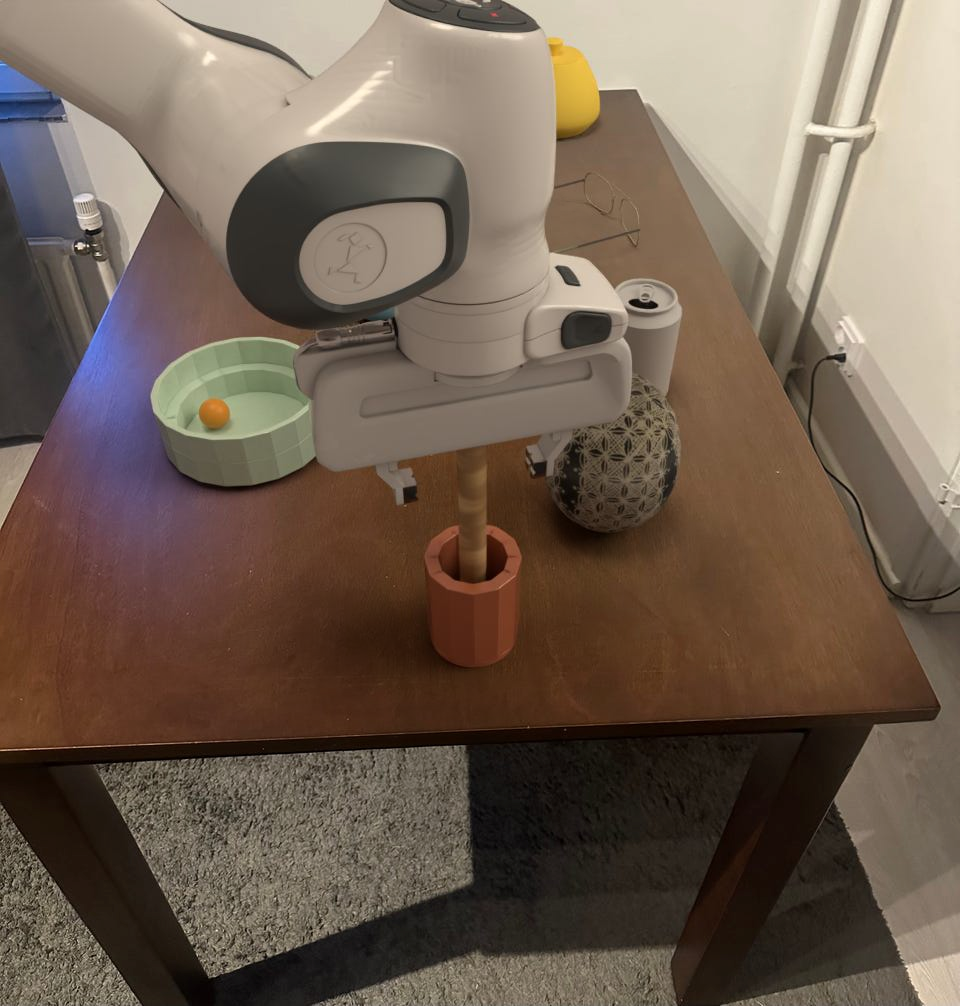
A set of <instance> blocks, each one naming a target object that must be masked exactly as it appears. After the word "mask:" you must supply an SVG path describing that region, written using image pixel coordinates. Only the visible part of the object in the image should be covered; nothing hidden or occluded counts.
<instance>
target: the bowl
mask: <svg viewBox="0 0 960 1006" xmlns="http://www.w3.org/2000/svg"><path fill="white" fill-rule="evenodd" d="M300 346H301V345H298V344H296V343H293V342H292V341H289V340H285V339H279V338H273V337H268V336H267V337H266V336H245V337H244V336H243V337H233V338H228V339H223V340H218V341H213V342H210V343H208V344H205V345H203V346H200V347H198V348H195V349H192V350H189V351H188V352H186V353H184V354H183V355H182V356H180V357H178V358H177V359H175V360H174V361H172V362H170V363H169V364H168V365H167V366H166V367H165V369H163V371H162V372H161V373H160V374H159V375H158V377H157V378H156V379H154V380H155V381H154V384H153V386H152V389H151V391H150V392H151V393H150V395H149V397H150V403H151V409H152V413H153V416H154V419H155V421H156V424H157V427H158V431H159V434H160V437H161V440H162V443H163V446H164V449H165V452H166V455H167V458H168V459H169V461H170V462H171V463H172V464H173V465H174V466H175V468H176V469H177V471H179V472H180V473H182V474H184V475H186V476H188V477H189V478H192V479H193V480H195V481H197V482H200V483H206V484H210V485H215V486H220V487H240V486H241V487H243V486H255V485H258V484H262V483H267V482H271V481H275V480H279V479H281V478H283V477H285V476H288V475H290V474H291V473H293V472H295V471H297V470H299V469H302V468H303V467H305V466H306V465H307V464H308V463H310V462H311V461H312V460H313V459H314V458H316V454H315V450H314V445H313V440H312V434H311V428H310V419H309V402H308V397H306V396H305V395H304V394H303V393H302V392H301V391H300V390H299V388H298V386H297V384H296V378H295V373H294V367H293V358H294V355H295V352H296V351H297V349H298V348H299V347H300ZM211 398H216V399H220V400H222V401H224V402H225V403H226V404H227V406H228V407H229V410H230V418H229V420H228V422H227V423H226V424H225V425H224V426H223V427H221V428H217V429H213V428H209V427H207V426H205V425H204V424H203V423H202V422H201V420H200V418H199V408H200V406H201V404H202V403H203V402H204V401H206V400H208V399H211Z"/></svg>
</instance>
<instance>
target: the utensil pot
mask: <svg viewBox="0 0 960 1006" xmlns="http://www.w3.org/2000/svg"><path fill="white" fill-rule="evenodd" d="M516 541H517V540H516V539H515V538H514V537H512V536H511V535H510V534H508V533H506V532H505V531H504V530H502V528H499V527H498V526H496V525H491V524H487V551H486V581H485V582H480V583H476V584H470V583H465V582H460V563H459V525H458V524H456V525H451V526H448V527H447V528H445V529H444V530H443V531H441V532H440V533H438V534H437V535H436V536H434V537H433V538H432V539H430V542H429V543H428V546H427V549H426V551H425V554H424V556H423V563H424V565H423V566H424V577H425V578H424V579H425V580H424V581H425V594H426V609H427V625H428V631H429V634H430V641H431V643H432V646H433V647H434V649H435V651H436V652H437V653H438V654H439V656H441V658H443V659H445V660H446V661H447V662H449V663H451V664H454V665H456V666H460V667H462V668H463V667H464V668H482V667H487V666H491V665H493V664H496V663H498V662H499V661H501V660H502V659H504V658H506V656H507V655H508V654H509V653H510V652H511V651H512V650H513V648H514V646H515V643H516V642H517V638H518V631H519V628H520V626H519V625H520V606H521V605H520V604H521V583H522V562H523V561H522V560H523V556H522V553H521V550H520V548H519V546H518V544H517V542H516Z"/></svg>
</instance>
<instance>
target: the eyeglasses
mask: <svg viewBox="0 0 960 1006" xmlns="http://www.w3.org/2000/svg"><path fill="white" fill-rule="evenodd" d="M590 174H593V175H596V176H598V178H600V179H602V180H603V181H604V182H605V183H606V184H607V185H608V187H609V188H610V190H611V193H612V199H611V204H612V205H611V209H610V211H605V210H603V209H602V208H600V207H598V206H596V205H595V204H594V203H593V202H592V201H591V200H590V199H589V197H588V196H587V191H586V181H587V177H588V176H589V175H590ZM579 183H583V193H584V197H585V198H586V201H587V202H588V203H589V204H590V205H591V206H593V208H596V209H597V210H599V211H600V212H602V213H604V214H611V213H612V212H613V210H614V205H615V198H617V199H618V200H619V201H621V202H620V206H619V208H618V210H620V218H621V219H620V220H621V224H622V226H623V229H624V231H625V232H621V233H618V234H614V235H611V236H607V237H604V238H601V239H597V240H593V241H590V242H586V243H582V244H578V245H574V246H570V247H566V248H562V249H559V250H556V251H552V252H551V253H557V254H562V253H566V252H569V251H573V250H577V249H580V248H583V247H587V246H590V245H594V244H598V243H602V242H605V241H609V240H613V239H616V238H618V237H619V238H620V237H623V236H628V238H629V239H630V240H631V242H632V244H633V246H635V247H638V245H639V243H640V231H641V228H640V217H639V212H638V209H637V207H636V206H635V205H634V204H633V203H632V201H631V198H630V197H628V195H626V194H625V193H624V192H623V191H621V189H619V188H618V187H617V186H616V185H615V184H613V183H612V181H608V180H607V179H606V178H604V177H603V176H602V175H601V174H599V173H597V172H594V171H589V172H587V173H586V174H585V175H584V178H582V179H578V180H574V181H571V182H566V183H562V184H559V185H554V190H556V189H560V188H563V187H568V186H571V185H575V184H579ZM612 186H613V187H614V188H615V189H616V190H618V191H619V192H620V193H621V194H623V196H624V197H626V198H622V199H621V198H620V197H619V196H618V195H615V191H614V189H613V187H612ZM625 201H627V202H628V203H629V204H630V205H631V206H632V208H634V211H635V213H636V218H637V228H636V229H633V230H629V231H628V230H627V228H626V226H625V223H624V217H623V204H625ZM634 233H637V242H635V240H634V239H633V238H632V236H631V234H634Z"/></svg>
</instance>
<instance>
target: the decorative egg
mask: <svg viewBox="0 0 960 1006" xmlns="http://www.w3.org/2000/svg"><path fill="white" fill-rule="evenodd" d="M681 441H682V440H681V433H680V427H679V423H678V419H677V416H676V413H675V411H674V409H673V407H672V405H671V403H670V402H669V400H668V399H667V397H666V396H664V395H663V394H662V392H661V391H660V390H659V389H658V388H657V387H656V386H655V385H654V384H653V383H651V382H650V381H648V380H647V379H645V378H644V377H642V376H640V375H638V374H636V373H633V372H632V386H631V396H630V402H629V406H628V408H627V409H626V410H625V411H624V413H623V414H622V415H621V416H620V417H619V418H618V419H617V420H616V421H614V422H610V423H604V424H598V425H593V426H587V427H582V428H576V429H573V433H572V439H571V440H570V441H569V443H568V444H567V445H566V446H565V448H564V449H563V450H562V452H561V453H560V454H559V455H558V457H557V458H555V459H554V469H553V475H552V476H548V477H544V479H545V485H546V486H547V490H548V492H549V495H550V496H551V498H552V500H553V502H554V504H555V505H556V506H557V508H558V509H559V510H560V511H561V512H562V514H564V515H565V516H566V517H567V518H568V519H569V520H571V521H572V522H574V523H575V524H576V525H579V526H581V527H583V528H585V529H588V530H590V531H594V532H599V533H609V534H610V533H612V534H613V533H621V532H625V531H626V532H627V531H628V530H632V529H635V528H637V527H640V526H642V525H643V524H645V523H646V522H649V520H651V519H652V518H654V517H655V516H656V515H657V514H658V512H660V510H661V509H662V508H663V507H664V506H665V504H666V503H667V501H668V500H669V498H670V496H671V494H672V492H673V490H674V488H675V485H676V482H677V480H678V477H679V473H680V466H681V458H682V442H681Z"/></svg>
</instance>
